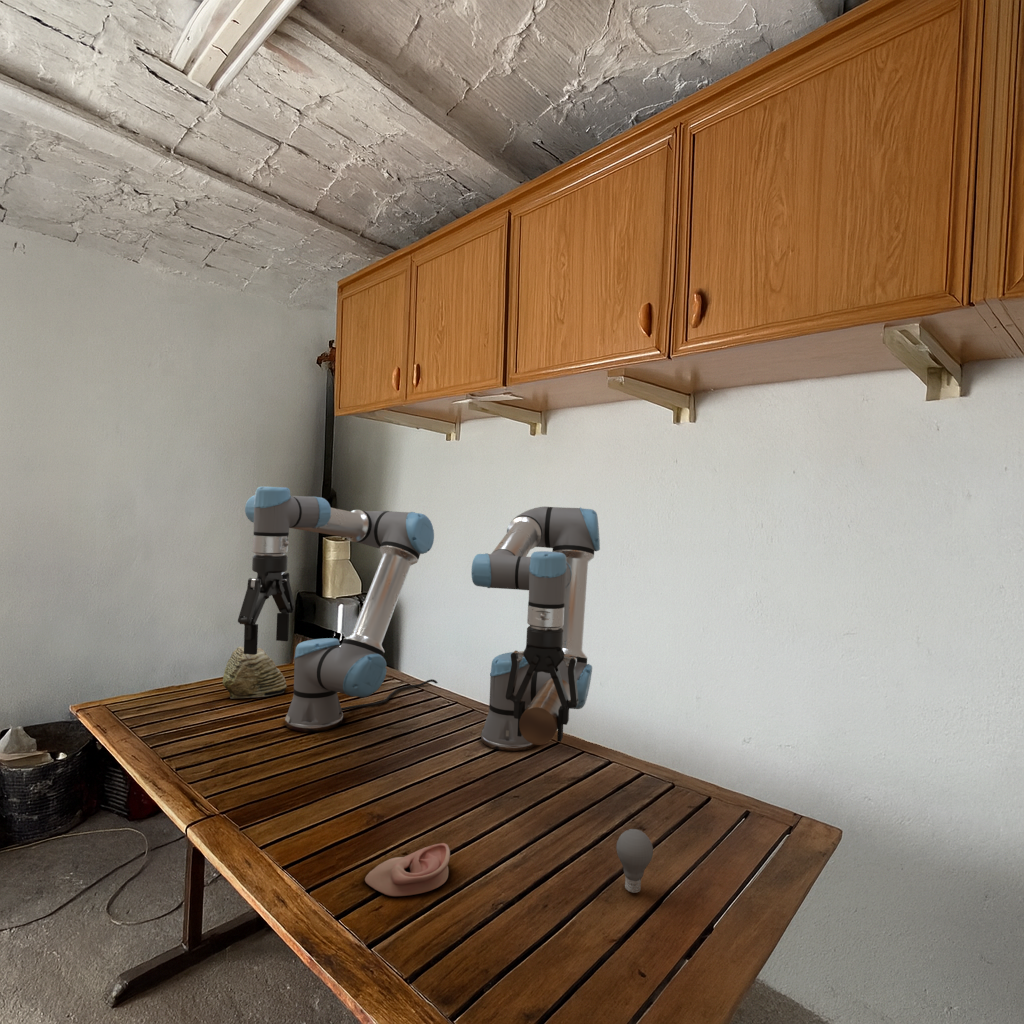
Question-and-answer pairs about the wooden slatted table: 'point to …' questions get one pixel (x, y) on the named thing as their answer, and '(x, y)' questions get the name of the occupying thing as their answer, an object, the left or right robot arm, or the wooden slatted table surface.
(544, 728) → the rod
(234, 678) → the fossil
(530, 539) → the right robot arm
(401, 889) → the anatomical model
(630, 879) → the light bulb
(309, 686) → the left robot arm
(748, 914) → the wooden slatted table surface
